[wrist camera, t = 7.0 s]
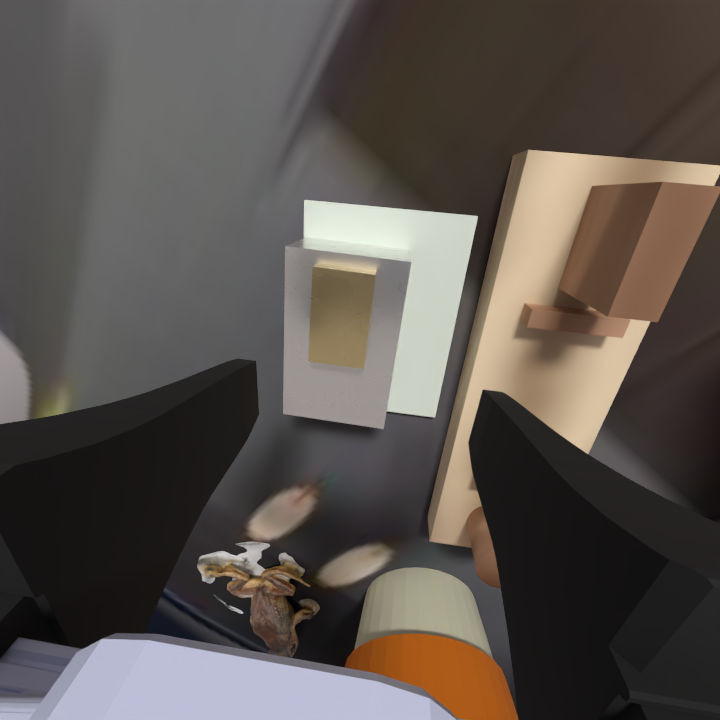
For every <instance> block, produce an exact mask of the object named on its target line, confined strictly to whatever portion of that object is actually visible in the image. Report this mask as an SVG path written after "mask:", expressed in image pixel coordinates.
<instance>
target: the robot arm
mask: <svg viewBox="0 0 720 720" xmlns="http://www.w3.org/2000/svg"><path fill="white" fill-rule="evenodd" d="M258 415H259V409H258V390H257V371H256V361H251V360H243V359H235V360H231V361H228V362H225V363H223V364H220V365H217V366H215V367H212V368H210V369H207V370H205V371H202V372H200V373H197V374H195V375H193V376H190V377H188V378H185V379H182V380H180V381H177V382H174V383H172V384H169V385H166V386H163V387H161V388H158V389H155V390H152V391H149V392H146V393H143V394H140V395H137V396H134V397H130V398H127V399H123V400H120V401H116V402H113V403H109V404H105V405H101V406H96V407H92V408H87V409H83V410H78V411H74V412H69V413H65V414H60V415H55V416H49V417H43V418H38V419H32V420H25V421H19V422H12V423H6V424H0V720H465V719H460V718H456V717H455V715H454V714H453V713H452V712H451V711H450V710H449V709H448V708H447V707H445V706H444V705H443V704H441V703H440V702H439V701H438V700H436V699H435V698H434V697H433V696H431V695H430V694H429V693H428V692H426V691H425V690H424V689H423V688H420V687H417V686H414V685H411V684H408V683H405V682H402V681H399V680H396V679H392V678H389V677H386V676H383V675H380V674H377V673H372V672H366V671H361V670H355V669H349V668H344V667H338V666H333V665H327V664H321V663H316V662H310V661H305V660H299V659H293V658H288V657H282V656H277V655H271V654H265V653H260V652H254V651H249V650H243V649H237V648H232V647H225V646H220V645H215V644H209V643H204V642H198V641H193V640H186V639H181V638H175V637H170V636H165V635H159V634H145V631H146V629H147V626H148V624H149V622H150V619H151V617H152V615H153V612H154V610H155V608H156V606H157V604H158V601H159V599H160V597H161V595H162V592H163V590H164V588H165V586H166V583H167V581H168V579H169V577H170V575H171V572H172V570H173V568H174V566H175V564H176V562H177V560H178V558H179V556H180V554H181V552H182V550H183V547H184V545H185V543H186V541H187V539H188V537H189V535H190V533H191V531H192V529H193V527H194V526H195V524H196V522H197V520H198V518H199V516H200V514H201V512H202V510H203V508H204V506H205V505H206V503H207V501H208V500H209V498H210V496H211V495H212V493H213V492H214V490H215V489H216V487H217V486H218V484H219V483H220V481H221V479H222V478H223V476H224V475H225V473H226V472H227V470H228V469H229V467H230V466H231V464H232V463H233V461H234V460H235V458H236V456H237V455H238V453H239V452H240V450H241V449H242V447H243V445H244V444H245V442H246V441H247V439H248V437H249V435H250V433H251V431H252V428H253V426H254V424H255V422H256V419H257V417H258ZM468 445H469V453H470V461H471V467H472V473H473V476H474V480H475V484H476V487H477V491H478V494H479V498H480V501H481V505H482V508H483V512H484V515H485V519H486V522H487V526H488V529H489V533H490V536H491V540H492V544H493V548H494V552H495V557H496V563H497V568H498V574H499V580H500V585H501V591H502V598H503V604H504V611H505V617H506V623H507V630H508V637H509V645H510V652H511V660H512V667H513V675H514V682H515V692H516V701H517V710H518V719H519V720H720V524H719V523H717V522H714V521H712V520H710V519H708V518H705V517H703V516H701V515H699V514H697V513H695V512H692V511H690V510H688V509H686V508H684V507H682V506H680V505H678V504H676V503H674V502H672V501H670V500H668V499H666V498H664V497H662V496H660V495H658V494H656V493H654V492H652V491H650V490H648V489H646V488H644V487H643V486H641V485H639V484H637V483H635V482H633V481H632V480H630V479H628V478H626V477H624V476H623V475H621V474H619V473H618V472H616V471H614V470H613V469H611V468H609V467H608V466H606V465H604V464H603V463H601V462H599V461H598V460H596V459H595V458H593V457H591V456H590V455H588V454H587V453H585V452H584V451H582V450H581V449H579V448H578V447H577V446H575V445H574V444H572V443H571V442H569V441H568V440H567V439H565V438H564V437H562V436H561V435H560V434H558V433H557V432H556V431H554V430H553V429H552V428H550V427H549V426H548V425H546V424H545V423H544V422H542V421H541V420H540V419H539V418H537V417H536V416H535V415H533V414H532V413H531V412H530V411H528V410H527V409H526V408H525V407H523V406H522V405H521V404H519V403H518V402H517V401H515V400H514V399H513V398H511V397H510V396H509V395H507V394H505V393H504V392H499V391H491V390H482V394H481V398H480V401H479V405H478V409H477V412H476V416H475V420H474V423H473V427H472V431H471V434H470V438H469V441H468Z"/></svg>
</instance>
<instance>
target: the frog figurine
mask: <svg viewBox="0 0 720 720" xmlns="http://www.w3.org/2000/svg"><path fill="white" fill-rule="evenodd" d="M235 545H239V546H243V547H245V548H246V549H247V552H245V553H241V554H239V555H238V556H235V555H231V554H229V553H227V552H224V551H220V552H215V553H211V554H207V555H203V556H201V557H200V558H199V560H198V564H197V567H198V570H199V571H200V572H201V574H202V581H205V582H208V583H212V582H214V580H215V577H220V576H231V577H233V579H232V580H233V581H230V582H229V583H228V584H227V590H228V591H230V593H232V594H233V595H236V596H238V597H239V598H248V597H250V598H252V599H251V600H252V601H251V608H250V609H251V616H250V618H251V619H250V622H251V626H252V627H253V632H254V633H255V634H256V635H258V636H260V637H261V638H262V639H263V640H264V641H265V643H266V645H267V647H269V648H270V650H269V651H268V654H271V655H277V656H283V657H288V658H292V657H293V656H294V653H295V651H296V649H297V647H298V637H297V633H296V631H295V625H296V624H297V623H299V622H301V620H302V619H309V620H310V619H311V618H312V616H313V615H315V614H316V613H317V612H318V610H319V609H320V607H319V605H318V604H317V603H316V602H315V601H313V600H311V599H303V600H300V601H299V604H300V605H301V607H302V609H301V610H299V611H298V612H296V613H295V612H294V610H293V608H292V606H291V604H290V603H289V601H288V600H287V598H286V597H285V596H292V595H293V594H294V592H295V586H294V585H292V584H291V583H290V582H289V580H290V579H291V578H292V579H295V580H297V581H299V582H301V583H302V584H304V585H306V586H308V587H310V585H308V584H307V583H305V582H304V581H303V580H302V579H301V578H300V577H301V576H303V573H304V572H305V569H303V568H302V567H300V566H299V565H298V564H297V563H296V562H295V561H294V559H293V558H292V557H291V556H288V555H287V554H286V553H281V554H280V555H279V560H280V563H281V565H280V566H276V567H272V568H270V569H264V568H263V567H261V566H260V565H258V564H257V561H258V560H259V559H261V551H262V550H264V549H266V548H268V547H270V545H269V544H267V543H261V542H254V541H252V542H244V543H238V544H235ZM214 596H215V597H216V598H217V599H218V600H220V599H219V598H218V597H217V596H216V595H214ZM220 601H221V602H222V603H224V604H225V605H226V606H227V607H228V608H229V609H230V610H232V611H236V612H238V613H240V614H243V612H242V611H241V610H239V609H237V608H234V607H231V606H228V605H227V604H226V603H225V602H223V601H222V600H220Z"/></svg>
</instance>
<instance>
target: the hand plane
mask: <svg viewBox="0 0 720 720" xmlns="http://www.w3.org/2000/svg"><path fill="white" fill-rule="evenodd" d="M719 174H720V166H717V165H705V164H693V163H681V162H669V161H657V160H645V159H633V158H621V157H609V156H597V155H584V154H572V153H560V152H548V151H536V150H527V151H524V152H521V153H519V154H516V155H513V158H512V162H511V166H510V170H509V174H508V179H507V183H506V187H505V191H504V195H503V200H502V204H501V208H500V212H499V217H498V221H497V225H496V229H495V233H494V238H493V242H492V246H491V250H490V255H489V259H488V263H487V267H486V271H485V276H484V280H483V284H482V288H481V292H480V297H479V301H478V305H477V309H476V314H475V318H474V322H473V326H472V330H471V335H470V339H469V343H468V347H467V352H466V356H465V360H464V364H463V368H462V373H461V377H460V381H459V385H458V389H457V394H456V398H455V402H454V406H453V411H452V415H451V419H450V423H449V427H448V432H447V436H446V440H445V444H444V449H443V453H442V457H441V461H440V465H439V470H438V474H437V478H436V482H435V486H434V491H433V495H432V499H431V503H430V508H429V512H428V528H429V540H430V542H437V543H443V544H450V545H457V546H463V547H470V548H472V552H473V557H474V561H475V566H476V571H477V575H478V577H479V578H480V579H481V580H482V581H483V582H484V583H486V584H488V585H490V586H493V587H496V588H501V585H500V580H499V574H498V568H497V563H496V557H495V552H494V548H493V544H492V540H491V536H490V533H489V529H488V526H487V522H486V519H485V515H484V512H483V508H482V505H481V501H480V498H479V494H478V491H477V487H476V484H475V480H474V476H473V473H472V467H471V461H470V453H469V445H468V441H469V438H470V434H471V431H472V427H473V423H474V420H475V416H476V412H477V409H478V405H479V401H480V398H481V394H482V390H491V391H499V392H504V393H505V394H507V395H509V396H510V397H511V398H513V399H514V400H515V401H517V402H518V403H519V404H521V405H522V406H523V407H525V408H526V409H527V410H528V411H530V412H531V413H532V414H533V415H535V416H536V417H537V418H539V419H540V420H541V421H542V422H544V423H545V424H546V425H548V426H549V427H550V428H552V429H553V430H554V431H556V432H557V433H558V434H560V435H561V436H562V437H564V438H565V439H567V440H568V441H569V442H571V443H572V444H574V445H575V446H577V447H578V448H579V449H581V450H582V451H584V452H585V453H587V454H588V453H589V451H590V449H591V447H592V445H593V443H594V441H595V438H596V436H597V434H598V432H599V430H600V428H601V426H602V423H603V421H604V419H605V417H606V415H607V413H608V411H609V409H610V406H611V404H612V402H613V400H614V398H615V396H616V394H617V392H618V389H619V387H620V385H621V383H622V381H623V379H624V377H625V374H626V372H627V370H628V368H629V366H630V364H631V362H632V360H633V357H634V355H635V353H636V351H637V349H638V347H639V345H640V343H641V340H642V338H643V336H644V334H645V332H646V330H647V328H648V325H649V323H650V321H651V322H658V321H659V318H660V316H661V314H662V312H663V310H664V308H665V306H666V304H667V302H668V300H669V298H670V296H671V293H672V291H673V289H674V287H675V285H676V283H677V281H678V279H679V277H680V275H681V273H682V270H683V268H684V266H685V264H686V262H687V260H688V258H689V256H690V254H691V252H692V250H693V248H694V245H695V243H696V241H697V239H698V237H699V235H700V233H701V231H702V229H703V227H704V225H705V223H706V220H707V218H708V216H709V214H710V212H711V210H712V208H713V206H714V204H715V202H716V200H717V197H718V195H719V193H720V187H719V186H714V185H715V183H716V181H717V178H718V176H719Z"/></svg>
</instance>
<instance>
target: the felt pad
mask: <svg viewBox="0 0 720 720" xmlns="http://www.w3.org/2000/svg"><path fill="white" fill-rule="evenodd" d="M477 219H478V216H471V215H460V214H450V213H439V212H428V211H418V210H407V209H397V208H386V207H376V206H365V205H354V204H344V203H333V202H323V201H312V200H304V238H305V237H312V238H320V239H328V240H336V241H344V242H352V243H359V244H367V245H375V246H383V247H391V248H399V249H407V250H409V251H410V256H411V268H410V274H409V280H408V286H407V292H406V298H405V304H404V310H403V316H402V322H401V328H400V334H399V340H398V346H397V352H396V358H395V364H394V370H393V376H392V382H391V388H390V393H389V399H388V405H387V411H388V412H396V413H404V414H411V415H419V416H427V417H435V415H436V411H437V406H438V401H439V397H440V392H441V387H442V383H443V378H444V373H445V369H446V364H447V359H448V355H449V350H450V345H451V340H452V336H453V331H454V326H455V322H456V317H457V312H458V308H459V303H460V298H461V294H462V289H463V284H464V280H465V275H466V270H467V265H468V261H469V256H470V251H471V247H472V242H473V237H474V233H475V228H476V223H477Z"/></svg>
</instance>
